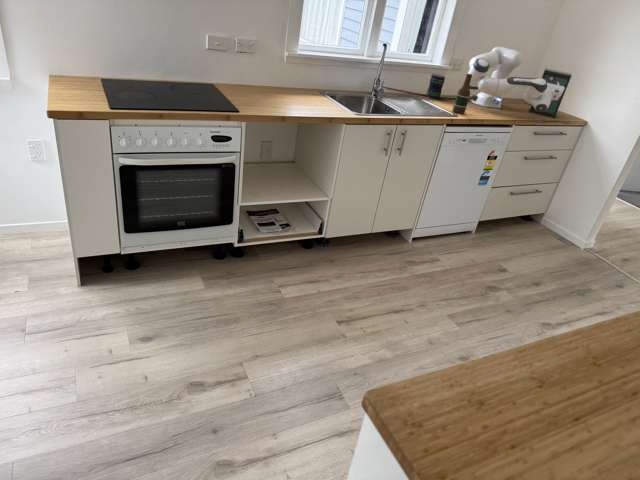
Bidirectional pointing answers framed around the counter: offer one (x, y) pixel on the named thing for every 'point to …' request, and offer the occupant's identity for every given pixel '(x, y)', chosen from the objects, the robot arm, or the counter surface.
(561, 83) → the glass door
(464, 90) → the beer bottle
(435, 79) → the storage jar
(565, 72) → the display cabinet
